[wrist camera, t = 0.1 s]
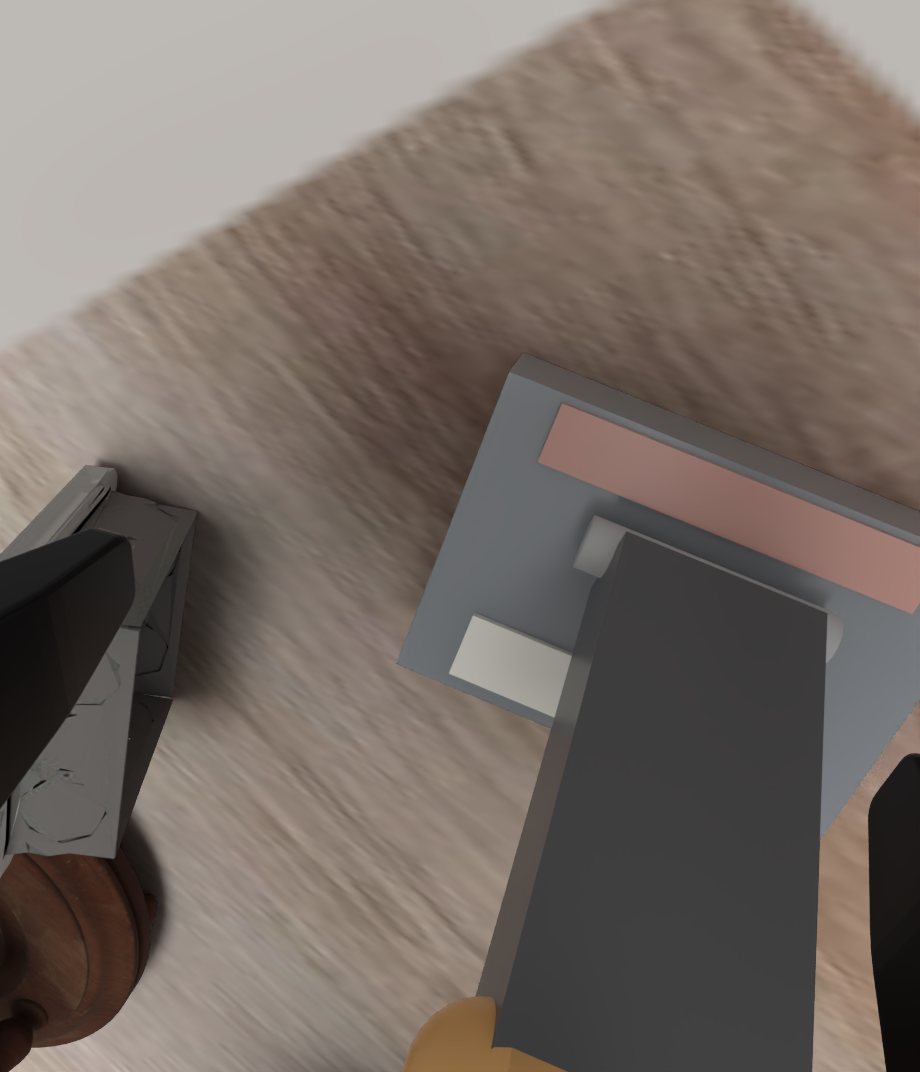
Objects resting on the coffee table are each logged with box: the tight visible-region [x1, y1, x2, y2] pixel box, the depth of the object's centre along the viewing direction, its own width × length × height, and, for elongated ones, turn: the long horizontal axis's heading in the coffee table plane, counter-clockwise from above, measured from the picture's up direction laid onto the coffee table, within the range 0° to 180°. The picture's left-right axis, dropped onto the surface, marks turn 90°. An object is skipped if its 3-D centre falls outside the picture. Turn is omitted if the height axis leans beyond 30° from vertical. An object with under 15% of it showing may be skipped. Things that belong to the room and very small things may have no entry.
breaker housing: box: [396, 353, 920, 839], centre depth 23 cm, size 9×13×4 cm
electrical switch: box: [0, 465, 198, 877], centre depth 24 cm, size 9×5×9 cm, turn 165°
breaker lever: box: [402, 515, 844, 1072], centre depth 16 cm, size 3×7×14 cm, turn 70°
